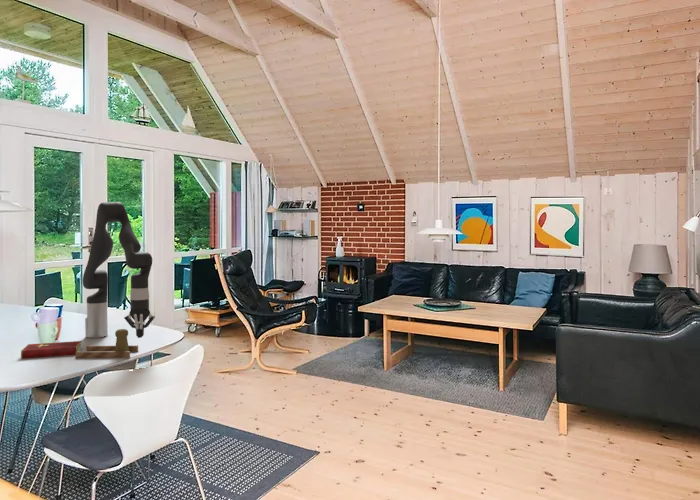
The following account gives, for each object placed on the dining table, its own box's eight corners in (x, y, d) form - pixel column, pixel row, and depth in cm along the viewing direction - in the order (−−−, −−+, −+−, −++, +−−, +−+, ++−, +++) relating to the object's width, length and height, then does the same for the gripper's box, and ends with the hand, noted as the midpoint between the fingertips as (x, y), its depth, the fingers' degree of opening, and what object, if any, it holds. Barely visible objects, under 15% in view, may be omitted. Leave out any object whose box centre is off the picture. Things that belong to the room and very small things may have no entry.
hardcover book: (77, 356, 219) (77, 346, 218) (21, 360, 212) (20, 350, 211) (81, 349, 230) (81, 340, 230) (28, 352, 223) (28, 343, 223)
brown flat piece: (75, 358, 214) (75, 352, 214) (87, 351, 225) (87, 345, 225) (129, 357, 215) (129, 351, 215) (138, 350, 227) (138, 345, 227)
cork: (117, 352, 224) (117, 328, 223) (131, 352, 224) (131, 327, 223) (112, 356, 218) (111, 330, 217) (126, 356, 218) (126, 330, 217)
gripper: (120, 299, 216) (121, 339, 217) (152, 299, 217) (152, 339, 218) (127, 296, 223) (127, 335, 224) (157, 296, 224) (158, 335, 225)
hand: (140, 337), depth 221 cm, fingers closed
